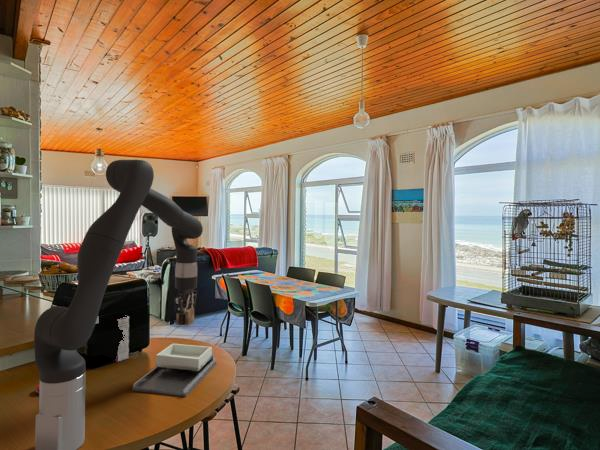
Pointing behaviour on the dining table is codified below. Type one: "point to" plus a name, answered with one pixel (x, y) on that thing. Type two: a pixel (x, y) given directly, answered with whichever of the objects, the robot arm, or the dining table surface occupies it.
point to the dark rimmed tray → (172, 380)
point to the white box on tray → (184, 357)
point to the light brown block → (187, 317)
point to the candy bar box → (124, 345)
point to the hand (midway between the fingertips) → (185, 322)
